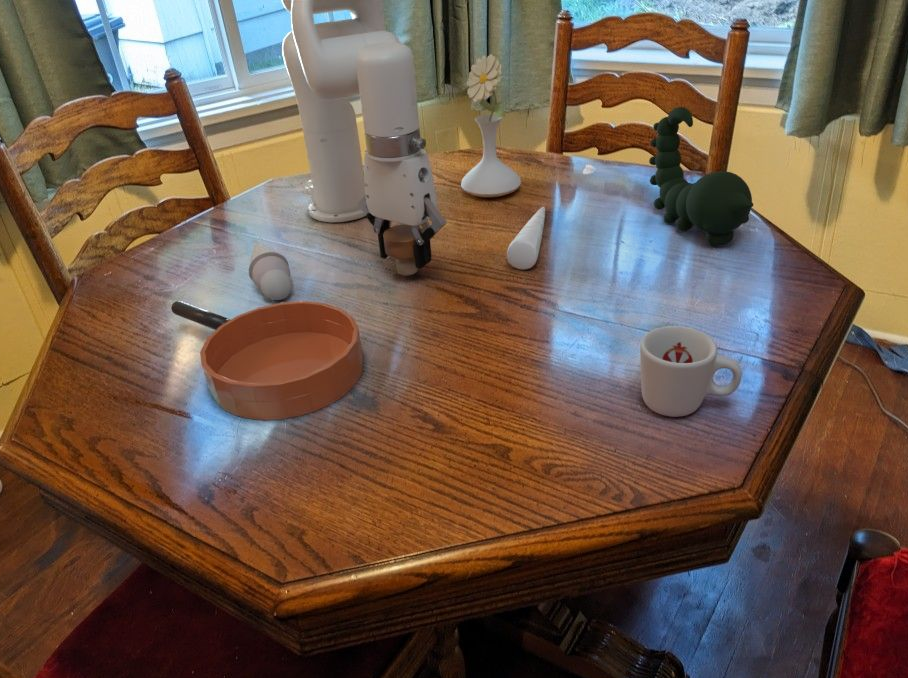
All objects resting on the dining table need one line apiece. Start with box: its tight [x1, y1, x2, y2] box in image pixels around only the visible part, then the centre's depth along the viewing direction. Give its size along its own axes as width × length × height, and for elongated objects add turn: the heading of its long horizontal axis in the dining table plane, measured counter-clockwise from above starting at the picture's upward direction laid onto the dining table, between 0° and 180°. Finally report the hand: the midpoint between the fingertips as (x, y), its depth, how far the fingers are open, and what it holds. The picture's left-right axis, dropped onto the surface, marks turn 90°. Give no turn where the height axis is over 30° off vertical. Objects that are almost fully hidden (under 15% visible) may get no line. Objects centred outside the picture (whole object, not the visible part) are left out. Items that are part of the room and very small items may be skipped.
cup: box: [639, 325, 742, 418], centre depth 80 cm, size 11×8×8 cm
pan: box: [199, 300, 364, 421], centre depth 92 cm, size 19×19×5 cm
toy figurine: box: [648, 106, 754, 247], centre depth 114 cm, size 9×19×25 cm
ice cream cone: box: [248, 240, 293, 301], centre depth 111 cm, size 6×6×15 cm
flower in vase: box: [460, 53, 522, 198], centre depth 131 cm, size 13×11×25 cm
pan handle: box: [170, 300, 232, 331], centre depth 98 cm, size 12×2×2 cm, turn 55°
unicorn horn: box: [506, 205, 546, 271], centre depth 119 cm, size 5×24×5 cm, turn 163°
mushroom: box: [383, 224, 424, 276], centre depth 110 cm, size 6×6×6 cm
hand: (405, 258), depth 111 cm, fingers closed on mushroom, 6 cm apart
